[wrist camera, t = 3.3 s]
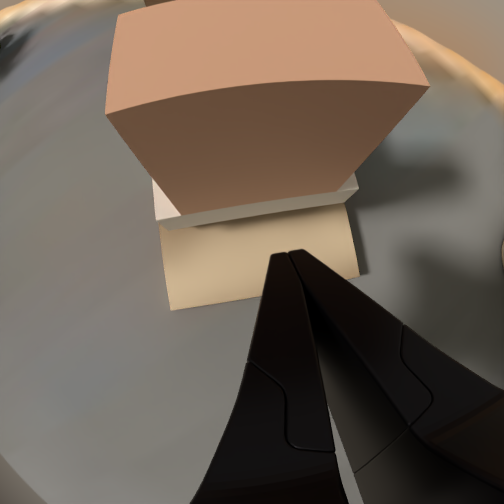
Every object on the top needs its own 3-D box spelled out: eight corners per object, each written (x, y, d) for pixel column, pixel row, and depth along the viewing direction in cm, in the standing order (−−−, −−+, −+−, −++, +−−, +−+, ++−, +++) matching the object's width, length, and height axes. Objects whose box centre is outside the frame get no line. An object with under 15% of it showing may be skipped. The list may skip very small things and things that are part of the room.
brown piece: (331, 213, 16) (462, 91, 5) (178, 238, 15) (56, 131, 4) (289, 67, 17) (321, -80, 6) (164, 84, 16) (117, -62, 5)
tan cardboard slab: (353, 277, 16) (413, 268, 10) (175, 309, 16) (133, 319, 10) (272, 4, 19) (279, -53, 13) (155, 20, 19) (139, -37, 12)
